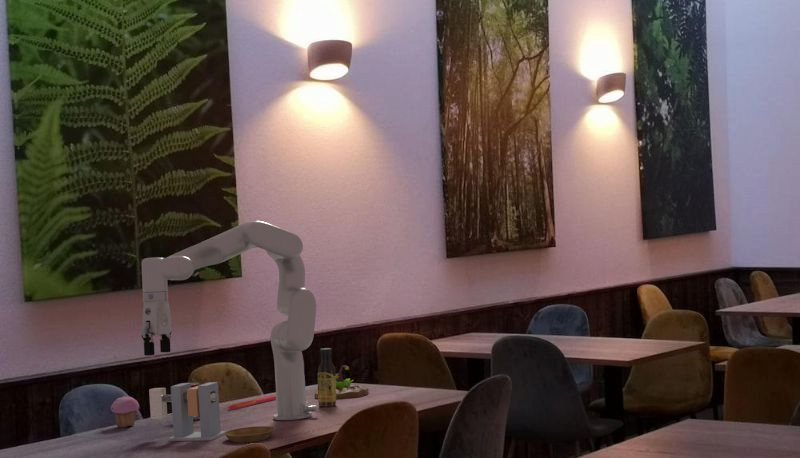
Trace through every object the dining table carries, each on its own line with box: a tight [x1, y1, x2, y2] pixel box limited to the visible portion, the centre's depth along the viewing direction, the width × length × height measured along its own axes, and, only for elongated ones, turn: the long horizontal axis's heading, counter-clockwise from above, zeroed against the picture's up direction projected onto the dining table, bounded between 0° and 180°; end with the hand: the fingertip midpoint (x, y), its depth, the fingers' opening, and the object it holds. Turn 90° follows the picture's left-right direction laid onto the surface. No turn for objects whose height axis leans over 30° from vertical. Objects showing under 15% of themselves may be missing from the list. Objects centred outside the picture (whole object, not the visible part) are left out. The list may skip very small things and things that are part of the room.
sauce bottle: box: [317, 347, 337, 408], centre depth 375 cm, size 7×6×20 cm
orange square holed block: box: [187, 386, 200, 416], centre depth 327 cm, size 3×8×8 cm, turn 164°
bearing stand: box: [168, 381, 227, 442], centre depth 327 cm, size 14×10×16 cm
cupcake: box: [110, 395, 140, 428], centre depth 357 cm, size 9×9×10 cm
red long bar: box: [227, 394, 277, 411], centre depth 390 cm, size 24×2×5 cm
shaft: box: [148, 387, 216, 420], centre depth 328 cm, size 21×3×9 cm, turn 74°
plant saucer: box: [224, 425, 275, 443], centre depth 319 cm, size 15×15×3 cm
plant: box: [314, 365, 369, 400], centre depth 400 cm, size 20×20×11 cm
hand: (157, 353), depth 332 cm, fingers open, 9 cm apart
